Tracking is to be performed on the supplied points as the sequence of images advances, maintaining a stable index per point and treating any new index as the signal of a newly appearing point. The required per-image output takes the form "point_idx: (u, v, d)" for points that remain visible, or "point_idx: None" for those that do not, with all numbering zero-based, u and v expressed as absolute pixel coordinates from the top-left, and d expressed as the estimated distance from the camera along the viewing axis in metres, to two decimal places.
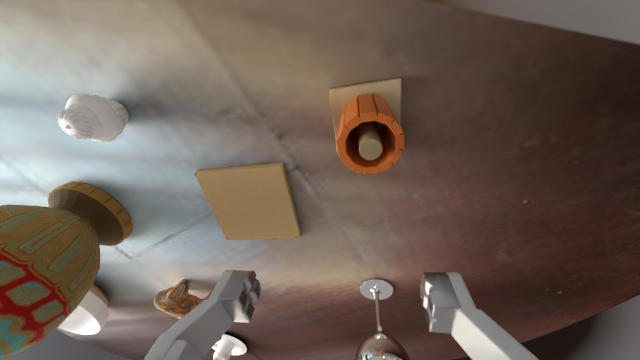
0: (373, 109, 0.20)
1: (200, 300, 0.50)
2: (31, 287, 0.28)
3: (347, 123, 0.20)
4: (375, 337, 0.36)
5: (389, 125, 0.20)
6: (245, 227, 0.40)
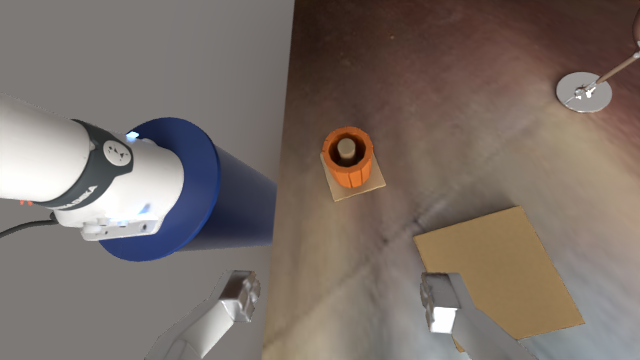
0: None
1: None
2: None
3: (333, 169, 0.28)
4: None
5: (329, 141, 0.29)
6: (537, 285, 0.28)
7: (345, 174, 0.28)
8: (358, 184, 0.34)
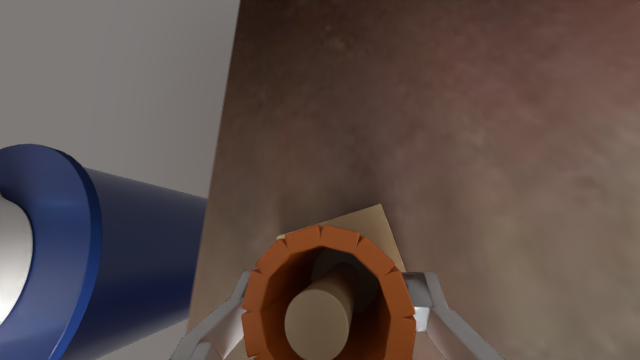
0: None
1: None
2: None
3: None
4: None
5: (267, 276, 0.09)
6: None
7: None
8: None
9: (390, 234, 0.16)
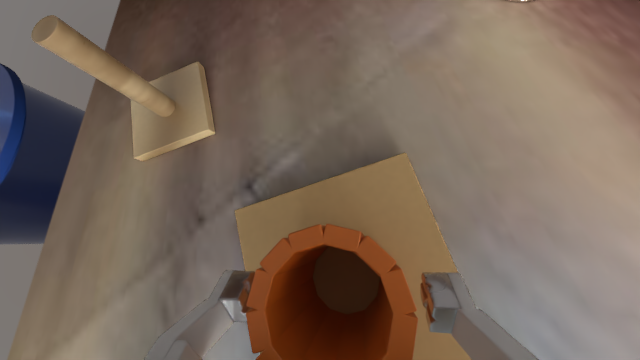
0: None
1: None
2: None
3: None
4: None
5: (271, 274, 0.09)
6: (419, 295, 0.15)
7: None
8: None
9: (199, 78, 0.23)
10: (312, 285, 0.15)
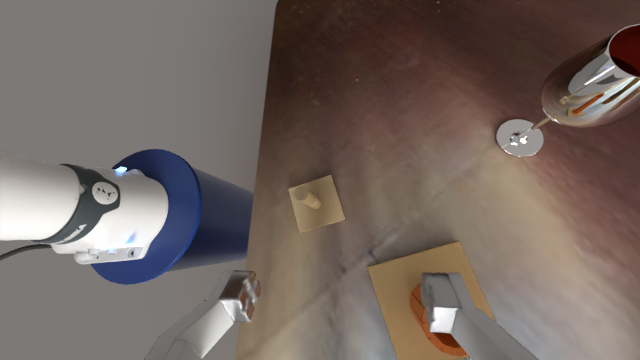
0: (421, 323, 0.26)
1: None
2: None
3: (438, 348, 0.25)
4: (549, 117, 0.27)
5: None
6: None
7: None
8: None
9: (333, 186, 0.40)
10: None
